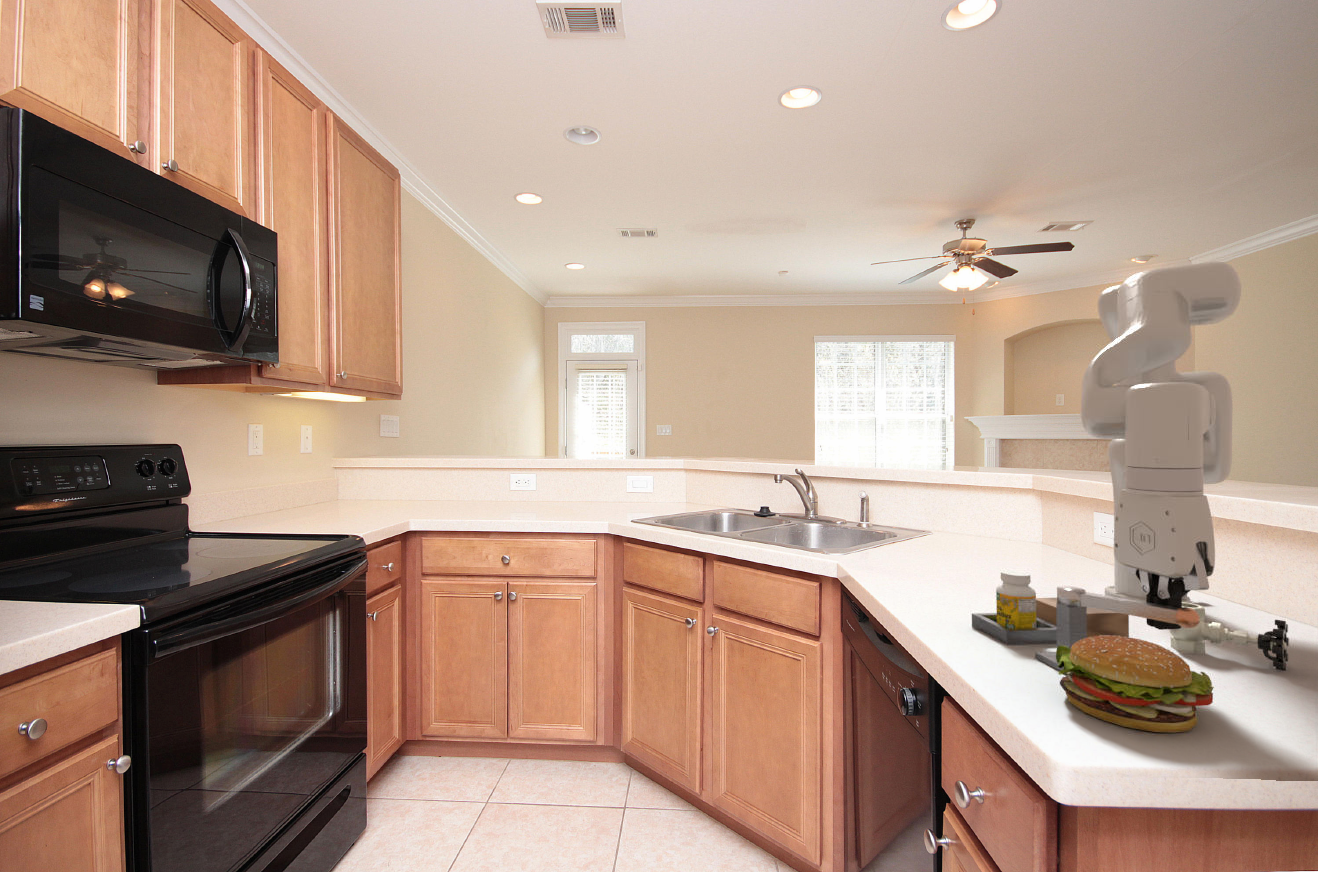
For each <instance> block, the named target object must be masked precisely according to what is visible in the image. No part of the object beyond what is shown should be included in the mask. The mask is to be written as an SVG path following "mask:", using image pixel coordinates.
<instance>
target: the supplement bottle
mask: <svg viewBox="0 0 1318 872" xmlns="http://www.w3.org/2000/svg"><path fill="white" fill-rule="evenodd" d="M1000 580H1001V581H1002V583H999V585H997V586H996V589H995V593H996V595H995V597H996V598H995V599H996V601H995V602H996V604H995V605H996V613H997V623H998V624H1000V625H1002V626H1004V627H1006V628H1008V629H1022V628H1036V598H1037V593H1036V590H1035V589H1034V588H1033V587H1032V586H1030V584H1031V582H1032V581H1031V580H1032V579H1031V574H1030V573H1028V572H1025V571H1019V570H1011V569H1010V570H1009V569H1008V570H1006V569H1005V570H1001V571H1000Z"/></svg>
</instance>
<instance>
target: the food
mask: <svg viewBox="0 0 1318 872" xmlns="http://www.w3.org/2000/svg"><path fill="white" fill-rule="evenodd" d="M1055 652H1056V660H1057V662H1058V663H1059V664H1058V667H1059V668H1062V667H1064V669H1063V670H1061V671H1059V670H1058V671H1059V672H1058V675H1059V676H1061V675H1066V674H1065V673H1067V674H1068V675H1066V676H1063V677H1062V676H1061V679H1060V681H1059V685H1060V687H1061V689H1063V690H1064V692H1065V695H1066V697H1067V700H1068V702H1069V703H1070V704H1072V705H1074V707H1076V708H1077V709H1080V710H1081V711H1082V712H1084V713H1086V714H1087V715H1090V716H1091V717H1095V718H1097V719H1100V720H1103V721H1105V722H1108V723H1112V724H1115V725H1118V726H1122V727H1125V728H1129V729H1134V730H1135V729H1136V730H1140V731H1146V732H1152V733H1180V732H1181V733H1182V732H1187V731H1188V732H1189V731H1191V730H1192V729H1193V728H1194V727H1195V726H1196V725H1197V724H1198V717H1197V714H1196V713H1197V710H1198V709H1197V707H1203V706H1204V707H1207V706H1210V705H1211V704H1213V701H1214V699H1213V698H1214V697H1213V695H1214V693H1213V689H1214V688H1215V687H1214V686H1213V682H1212V680H1211V679H1210V676H1209V675H1208V674H1207V673H1206V672H1204V671H1200V672H1199V673H1198V672H1196V671H1195V670H1191V668H1190V665H1189V664H1188V662H1186V661H1185V660H1184V659H1183V658H1182V657H1181V656H1179V655H1178V654H1176V653H1174V652H1173V651H1171V650H1170V649H1167V648H1166V647H1163V646H1161V645H1160V644H1157V643H1154V642H1150V641H1147V640H1144V639H1140V638H1133V637H1130V636H1129V637H1125V636H1124V637H1123V636H1116V635H1115V636H1111V635H1100V636H1092V637H1087V638H1084V639H1081V640H1079V641H1078V642H1076V643H1074V644H1073V645H1072V647H1071V649H1070V648H1068V647H1067V646H1064V645H1063V646H1058V648H1057V647H1056V651H1055Z"/></svg>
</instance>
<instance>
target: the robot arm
mask: <svg viewBox="0 0 1318 872" xmlns="http://www.w3.org/2000/svg"><path fill="white" fill-rule="evenodd" d="M1241 295H1242V284H1241V278H1240V276H1239V274H1238V272H1237V270H1236V268H1234V267H1233V266H1232V265H1231V264H1229V263H1228V262H1223V261H1208V262H1207V261H1206V262H1199V263H1191V264H1185V265H1184V264H1183V265H1175V266H1168V267H1167V266H1166V267H1162V268H1160V267H1159V268H1154V269H1149V270H1144V271H1141V272H1138V273H1136V274H1133V275H1132V276H1130V277H1128V278H1127V279H1126V280H1125V281H1124V282H1123V283H1122V284H1118V285H1114V286H1111V287H1109V288H1106V289H1105V290H1103V291H1102V292H1101V293H1100V294H1099V296H1098V300H1097V310H1098V312H1097V313H1098V315H1099V316H1098V317H1099V319H1100V322H1101V324H1102V327H1103V328H1104V331H1105V333H1106V334H1107V336H1108V338H1109V340H1110V343H1109V344H1107V346H1105V347H1104V348H1103V349H1102V350H1101V351H1099V352H1098V353H1097V354H1096V355H1095V356H1094V358H1092V360H1091V361H1090V362H1089V363H1088V365H1087V367H1086V369H1085V371H1084V373H1083V377H1082V381H1081V397H1080V398H1081V400H1080V417H1081V423H1082V426H1083V428H1084V430H1085V432H1087V434H1089V436H1091V437H1094V438H1096V439H1101V440H1110V442H1109V444H1108V447H1107V459H1108V460H1107V461H1108V464H1109V465H1108V466H1109V471H1110V477H1111V482H1112V483H1111V484H1112V491H1113V492H1112V493H1113V495H1112V496H1113V557H1114V564H1113V565H1114V569H1113V571H1114V578H1113V579H1114V585H1109V586H1106V587H1105V588H1104V595H1107V596H1113V597H1118V598H1124V599H1130V600H1136V601H1141V602H1147V603H1153V604H1159V605H1164V606H1170V607H1176V608H1180V607H1182V602H1185V603H1192V602H1191V601H1192V599H1191V598H1190V597H1189V596H1188V593H1190V592H1191V591H1207V590H1209V589H1210V583H1209V579H1208V577H1210V576H1212V575H1213V574H1214V571H1215V565H1216V545H1215V544H1216V543H1215V532H1214V525H1213V520H1212V519H1213V517H1212V513H1211V509H1210V503H1209V501H1208V500H1209V499H1208V497H1207V495H1204V491H1205V490H1204V485H1211V484H1212V485H1213V484H1219V483H1222V482H1224V481H1225V480H1227V478H1228V477H1229V475H1230V472H1231V468H1232V459H1233V458H1232V457H1233V454H1232V453H1233V393H1232V388H1231V385H1230V382H1229V380H1228V378H1227V377H1226V376H1224V375H1223V374H1221V373H1219V372H1216V371H1207V370H1206V371H1201V370H1200V371H1186V372H1185V371H1183V372H1179V371H1177V369H1176V361H1177V360H1179V359H1180V358H1182V356H1184V355H1185V354H1186V353H1187V351H1188V350H1189V348H1190V347H1191V344H1192V341H1193V339H1192V338H1193V335H1192V329H1191V327H1193V326H1194V327H1195V326H1207V325H1215V324H1219V323H1221V322H1223V321H1224V320H1226V319H1228V318H1230V317H1231V316H1232V315H1234V313H1235V312H1236V310H1237V309H1238V306H1239V304H1240V301H1241ZM1146 625H1147V626H1150V627H1152V628H1154V629H1157V630H1169V629H1180V628H1181V627H1182V626H1180V625H1178V624H1174V623H1169V622H1164V621H1158V620H1153V619H1148V618H1146Z"/></svg>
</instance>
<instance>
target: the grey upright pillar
mask: <svg viewBox="0 0 1318 872" xmlns="http://www.w3.org/2000/svg"><path fill="white" fill-rule="evenodd" d="M1056 616H1057V643H1056V649H1057V648H1058V646H1063V645H1064V646H1067V647H1068V648H1070V649H1071V647H1072V645H1073V644H1074V643H1076V642H1078V641H1079V640H1081V639H1084V638H1087V607H1070V606H1064V605H1061V604H1058V603H1057V602H1056ZM1034 655H1035V656H1034V657H1035V659H1037V660H1039V661H1041V662H1042V663H1044V664H1046V665H1047V666H1050V667H1052V668H1053V669H1055V670H1057V671H1061V670H1063V669H1064V667H1062V668H1059V667H1058V664H1059V663H1058V662H1057V660H1056V651H1035V652H1034ZM1064 675H1066V676H1068V674H1067V673H1065V674H1064Z"/></svg>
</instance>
